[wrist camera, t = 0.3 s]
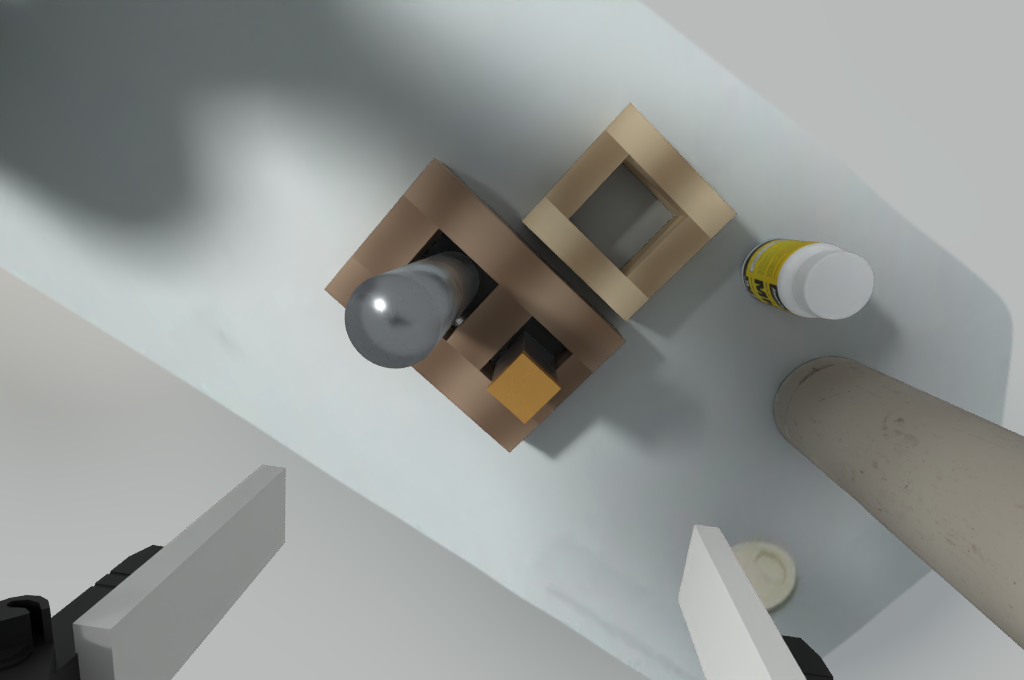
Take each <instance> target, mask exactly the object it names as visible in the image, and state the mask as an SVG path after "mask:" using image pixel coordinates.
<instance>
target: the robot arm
mask: <svg viewBox="0 0 1024 680" xmlns="http://www.w3.org/2000/svg"><path fill="white" fill-rule="evenodd" d="M285 475H286V470H285V468H283V467H275V466H268V465H262V466H260V467H259V468H258V469H257V470H256V471H254V472H253V473H252V474H251V475H250V476H248V477H247V478H246V479H245V480H244V481H243V482H241V483H240V484H239V485H238V486H237V487H235V488H234V489H233V490H232V491H231V492H229V493H228V494H227V495H226V496H225V497H223V498H222V499H221V500H220V501H219V502H217V503H216V504H215V505H214V506H213V507H211V508H210V509H209V510H208V511H207V512H205V513H204V514H203V515H202V516H201V517H199V518H198V519H197V520H196V521H195V522H193V523H192V524H191V525H190V526H189V527H187V528H186V529H185V530H184V531H183V532H181V533H180V534H179V535H178V536H177V537H176V538H174V539H173V540H172V541H171V542H170V543H168V544H167V545H166V546H165V547H162V546H156V545H152V546H150V547H148V548H146V549H144V550H142V551H139V552H137V553H135V554H133V555H132V556H129V557H128V558H127V559H125V560H124V561H123V562H122V563H121V564H119V565H118V566H117V567H115V568H114V569H113V570H111V572H110V574H107V575H105V576H104V577H103V578H101V579H100V580H99V581H98V582H96V583H95V586H94V587H93V586H92V587H90V588H89V589H87V590H86V591H85V592H84V593H82V594H81V595H80V596H78V597H77V598H76V599H75V600H73V601H72V602H71V603H70V604H68V605H67V606H66V607H65V608H63V609H62V610H61V611H59V612H58V613H57V614H56V615H54V616H53V617H52V618H51V613H50V606H49V602H48V600H46V599H45V598H43V597H41V596H32V595H24V596H19V597H13V598H8V599H6V600H2V601H0V680H171V679H172V678H173V677H174V676H175V674H176V673H177V672H178V671H179V670H180V668H181V667H182V666H183V665H184V664H185V662H186V661H187V660H188V659H189V657H190V656H191V655H192V654H193V653H194V651H195V650H196V649H197V648H198V646H199V645H200V644H201V643H202V642H203V641H204V639H205V638H206V637H207V636H208V635H209V633H210V632H211V631H212V630H213V629H214V627H215V626H216V625H217V624H218V623H219V621H220V620H221V619H222V618H223V616H224V615H225V614H226V613H227V612H228V610H229V609H230V608H231V607H232V606H233V604H234V603H235V602H236V601H237V600H238V598H239V597H240V596H241V595H242V594H243V592H244V591H245V590H246V589H247V588H248V586H249V585H250V584H251V583H252V582H253V580H254V579H255V578H256V577H257V576H258V574H259V573H260V572H261V571H262V569H263V568H264V567H265V566H266V565H267V563H268V562H269V561H270V559H272V557H273V556H274V555H275V554H276V553H277V551H278V550H279V549H280V548H281V547H282V545H283V544H284V543H285ZM678 601H679V604H680V607H681V610H682V613H683V615H684V618H685V621H686V624H687V627H688V629H689V632H690V635H691V638H692V641H693V644H694V646H695V649H696V652H697V655H698V658H699V661H700V663H701V666H702V669H703V672H704V675H705V678H706V680H833V676H832V674H831V673H830V671H829V670H828V668H827V667H826V665H825V663H824V662H823V660H822V659H821V657H820V656H819V655H818V654H817V653H816V652H815V651H814V650H813V649H812V648H811V647H810V646H808V645H807V644H806V643H805V642H804V641H803V640H802V639H801V638H796V637H790V636H783V635H781V634H780V633H779V631H778V629H777V628H776V626H775V624H774V622H773V621H772V619H771V617H770V615H769V614H768V612H767V610H766V608H765V607H764V605H763V603H762V601H761V600H760V598H759V596H758V595H757V593H756V591H755V589H754V588H753V586H752V584H751V582H750V581H749V579H748V577H747V575H746V574H745V572H744V570H743V568H742V567H741V565H740V563H739V562H738V560H737V558H736V556H735V555H734V553H733V551H732V549H731V548H730V546H729V544H728V542H727V541H726V539H725V537H724V535H723V534H722V532H721V530H720V529H719V528H718V527H711V526H704V525H696V524H694V528H693V532H692V537H691V541H690V546H689V550H688V555H687V559H686V564H685V569H684V573H683V578H682V582H681V587H680V591H679V596H678Z"/></svg>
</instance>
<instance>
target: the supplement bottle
mask: <svg viewBox="0 0 1024 680" xmlns="http://www.w3.org/2000/svg"><path fill="white" fill-rule="evenodd" d="M741 277H742V282H743V285H744V287H745V289H746V291H747V292H748V293H749V294H750V295H751V296H752V297H753V298H755V299H757V300H759V301H761V302H764V303H766V304H769V305H772V306H774V307H777V308H779V309H782V310H785V311H788V312H790V313H793V314H795V315H798V316H801V317H806V318H824V319H829V320H839V319H844V318H847V317H850V316H852V315H854V314H855V313H857V312H858V311H859V310H861V309H862V308H863V307H864V306H865V304H866V303H867V302H868V300H869V299H870V297H871V295H872V292H873V288H874V274H873V271H872V268H871V267H870V265H869V264H868V262H867V261H866V260H865V259H863V258H862V257H861V256H859V255H857V254H854V253H850V252H845V251H844V250H843V249H841V248H839V247H837V246H835V245H832V244H828V243H819V242H807V241H798V240H788V239H772V240H768V241H765V242H763V243H761V244H759V245H757V246H756V247H755V248H754V249H753V250H752V251H751V252H750V253H749V254H748V256H747V257H746V259H745V261H744V263H743V267H742V273H741Z"/></svg>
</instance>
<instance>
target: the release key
mask: <svg viewBox="0 0 1024 680" xmlns="http://www.w3.org/2000/svg"><path fill="white" fill-rule="evenodd" d="M560 389H561V384H560V383H558V379H557V371H556V363H555V358H554V357H553V356H552V355H551V354H550V353H549V352H548V351H547V350H546V349H545V348H543V347H542V346H541V345H540V344H539V343H538V342H537V341H536V340H535V339H534V338H533V337H532V336H531V335H529V334H528V333H527V332H526V331H524V332H523V333H522V334H521V336H520V337H519V338H518V339H517V340H516V341H515V342H514V343H513V344H512V345H511V346H510V347H509V348H508V349H507V350H506V351H505V352H504V353H503V354H502V355H501V356H500V357H499V358H498V359H497V363H496V366H495V370H494V373H493V377H492V380H491V383H490V384H489V385H488V387H487V391H488V392H490V393H491V394H492V395H493V396H494V397H495V398H496V399H497V400H499V401H500V402H501V403H502V404H503V405H504V406H505V407H506V408H507V409H509V410H510V411H511V412H512V413H513V414H514V415H515V416H516V417H517V418H519V419H520V420H521V421H522V422H523V423H524V424H525V423H526V422H527V421H528V420H529V419H530V418H531V417H532V416H533V415H534V414H535V413H537V412H538V411H539V410H540V409H541V408H542V407H543V406H544V405H545V404H546V403H547V402H548V401H549V400H550V399H551V398H552V397H553V396H554V395H555V394H556V393H557V392H558V391H559V390H560Z"/></svg>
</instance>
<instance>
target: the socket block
mask: <svg viewBox="0 0 1024 680" xmlns="http://www.w3.org/2000/svg"><path fill="white" fill-rule="evenodd" d="M442 233H444V234H446V235H447V236H448V237H449V238H450V239H451V240H452V241H453V242H454V243H455V244H456V245H457V246H458V247H459V248H461V249H462V250H463V251H464V252H465V253H466V254H467V255H468V256H469V257H470V258H471V259H472V260H473V261H474V262H475V263H477V264H478V265H479V266H480V267H481V268H482V269H483V270H484V271H485V272H486V273H487V274H488V275H489V276H490V277H491V278H493V279H494V280H495V281H496V282H497V283H498V284H497V285H496V286H495V287H494V288H493V290H492V291H491V292H490V293H489V294H488V295H487V296H486V297H485V298H484V299H483V300H482V301H481V302H480V303H479V305H478V306H477V307H476V308H475V309H474V310H473V311H472V312H471V313H470V314H469V315H468V316H467V317H466V318H465V320H464V321H463V322H462V323H461V324H460V325H459V326H458V327H457V328H456V329H455V330H453V329H452V328H451V327H450V328H449V330H448V331H447V332H446V333H445V335H444V336H443V337H442V338H441V340H440V341H439V342H438V343H437V345H436V346H435V347H434V348H433V350H432V351H431V352H430V353H429V355H428V356H426V357H425V358H424V359H423V360H422V361H420V362H418V363H416V364H415V365H412V367H413V368H414V369H415V370H416V371H417V372H418V373H420V374H421V375H422V376H423V377H424V378H425V379H426V380H428V381H429V382H430V383H431V384H432V385H433V386H434V387H435V388H437V389H438V390H439V391H440V392H441V393H442V394H443V395H445V396H446V397H447V398H448V399H449V400H450V401H451V402H453V403H454V404H455V405H456V406H457V407H458V408H459V409H460V410H462V411H463V412H464V413H465V414H466V415H467V416H468V417H470V418H471V419H472V420H473V421H474V422H475V423H476V424H478V425H479V426H480V427H481V428H482V429H483V430H484V431H485V432H487V433H488V434H489V435H490V436H491V437H492V438H493V439H495V440H496V441H497V442H498V443H499V444H500V445H501V446H502V447H504V448H505V449H506V450H507V451H508V452H509V453H510V452H511V451H512V450H513V449H514V448H515V447H516V446H517V445H518V444H519V443H520V442H521V441H522V440H523V439H524V438H525V437H526V436H527V435H528V434H530V433H531V432H532V431H533V430H534V429H535V428H536V427H537V426H538V425H539V424H540V423H541V422H542V421H543V420H544V419H545V418H546V417H547V416H548V415H549V414H550V413H551V412H552V411H553V410H554V409H556V408H557V407H558V406H559V405H560V404H561V403H562V402H563V401H564V400H565V399H566V398H567V397H568V396H569V395H570V394H571V393H572V392H573V391H574V390H575V389H576V388H577V387H578V386H579V385H580V384H582V383H583V382H584V381H585V380H586V379H587V378H588V377H589V376H590V375H591V374H592V373H593V372H594V371H595V370H596V369H597V368H598V367H599V366H600V365H601V364H602V363H603V362H604V361H605V360H606V359H608V358H609V357H610V356H611V355H612V354H613V353H614V352H615V351H616V350H617V349H618V348H619V347H620V346H621V345H622V344H623V343H624V342H625V340H624V339H623V337H622V336H621V334H620V333H619V332H618V330H617V329H616V328H614V327H613V326H612V325H611V324H610V323H609V322H608V321H607V320H606V319H605V318H604V317H603V316H602V315H601V314H600V313H599V312H598V311H597V310H596V309H595V308H594V307H593V306H592V305H591V304H590V303H588V302H587V301H586V300H585V299H584V298H583V297H582V296H581V295H580V294H579V293H578V292H577V291H576V290H575V289H574V288H573V287H572V286H571V285H570V284H569V283H568V282H567V281H566V280H565V279H563V278H562V277H561V276H560V275H559V274H558V273H557V272H556V271H555V270H554V269H553V268H552V267H551V266H550V265H549V264H548V263H547V262H546V261H545V260H544V259H543V258H542V257H541V256H540V255H538V254H537V253H536V252H535V251H534V250H533V249H532V248H531V247H530V246H529V245H528V244H527V243H526V242H525V241H524V240H523V239H522V238H521V237H520V236H519V235H518V234H517V233H516V232H515V231H513V230H512V229H511V228H510V227H509V226H508V225H507V224H506V223H505V222H504V221H503V220H502V219H501V218H500V217H499V216H498V215H497V214H496V213H495V212H494V211H493V210H492V209H491V208H490V207H488V206H487V205H486V204H485V203H484V202H483V201H482V200H481V199H480V198H479V197H478V196H477V195H476V194H475V193H474V192H473V191H472V190H471V189H470V188H469V187H468V186H467V185H466V184H465V183H463V182H462V181H461V180H460V179H459V178H458V177H457V176H456V175H455V174H454V173H453V172H452V171H451V170H450V169H449V168H448V167H447V166H446V165H445V164H444V163H442V162H440V161H439V160H437V159H435V158H434V159H433V160H432V161H431V162H430V164H429V165H428V166H427V167H426V168H425V170H424V171H423V172H422V173H421V174H420V176H419V177H418V178H417V179H416V180H415V181H414V183H413V184H412V185H411V186H410V187H409V189H408V190H407V191H406V192H405V193H404V195H403V196H402V197H401V198H400V199H399V201H398V202H397V203H396V204H395V205H394V207H393V208H392V209H391V210H390V211H389V213H388V214H387V215H386V216H385V217H384V219H383V220H382V221H381V222H380V223H379V224H378V226H377V227H376V228H375V229H374V230H373V232H372V233H371V234H370V235H369V236H368V238H367V239H366V240H365V241H364V242H363V244H362V245H361V246H360V247H359V248H358V250H357V251H356V252H355V253H354V254H353V256H352V257H351V258H350V259H349V260H348V262H347V263H346V264H345V265H344V266H343V268H342V269H341V270H340V271H339V272H338V273H337V275H336V276H335V277H334V278H333V279H332V281H331V282H330V283H329V284H328V285H327V287H326V288H325V289H324V290H325V291H326V292H328V293H329V294H330V295H331V296H332V297H333V298H334V299H336V300H337V301H338V302H339V303H340V304H341V305H342V306H344V307H345V308H346V306H347V303H348V300H349V298H350V296H351V294H352V293H353V292H354V290H355V289H356V288H357V287H358V286H359V285H360V284H361V283H363V282H364V281H366V280H367V279H369V278H371V277H374V276H377V275H380V274H382V273H385V272H388V271H391V270H394V269H396V268H399V267H402V266H405V265H408V264H411V263H413V262H416V261H419V260H420V259H421V257H422V256H423V255H424V254H425V253H426V252H427V251H428V249H429V248H430V247H431V246H432V245H433V244H434V243H435V241H436V240H437V239H438V238H439V237H440V236H441V235H442ZM532 316H533V317H534V318H535V319H536V320H537V321H538V322H540V323H541V324H542V325H543V326H544V327H545V328H546V329H547V330H548V331H549V332H550V333H551V334H552V335H553V336H554V337H556V338H557V339H558V340H559V341H560V342H561V343H562V344H563V345H564V346H565V347H564V348H563V349H562V350H561V351H560V352H559V353H558V354H557V355H556V356H555V357H554V358H555V363H556V371H557V379H558V383H560V384H561V389H560V390H559V391H558V392H557V393H556V394H555V395H554V396H553V397H552V398H551V399H550V400H549V401H548V402H547V403H546V404H545V405H544V406H543V407H542V408H541V409H540V410H539V411H538V412H537V413H535V414H534V415H533V416H532V417H531V418H530V419H529V420H528V421H527V422H526V423H525V424H524V423H523V422H522V421H521V420H520V419H519V418H517V417H516V416H515V415H514V414H513V413H512V412H511V411H510V410H509V409H507V408H506V407H505V406H504V405H503V404H502V403H501V402H500V401H499V400H497V399H496V398H495V397H494V396H493V395H492V394H491V393H490V392H488V391H487V387H488V385H489V384H490V383H491V380H492V377H493V373H494V370H495V367H494V366H493V365H492V364H491V363H490V362H488V361H489V360H490V359H491V358H492V357H493V356H494V355H495V354H496V353H497V352H498V351H499V350H500V349H501V348H502V347H503V346H504V345H505V344H506V343H507V342H508V341H509V340H510V339H511V338H512V336H513V335H514V334H515V333H516V332H517V331H518V330H519V329H520V328H521V327H522V326H523V325H524V324H525V323H526V322H527V321H528V320H529V319H530V318H531V317H532Z"/></svg>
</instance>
